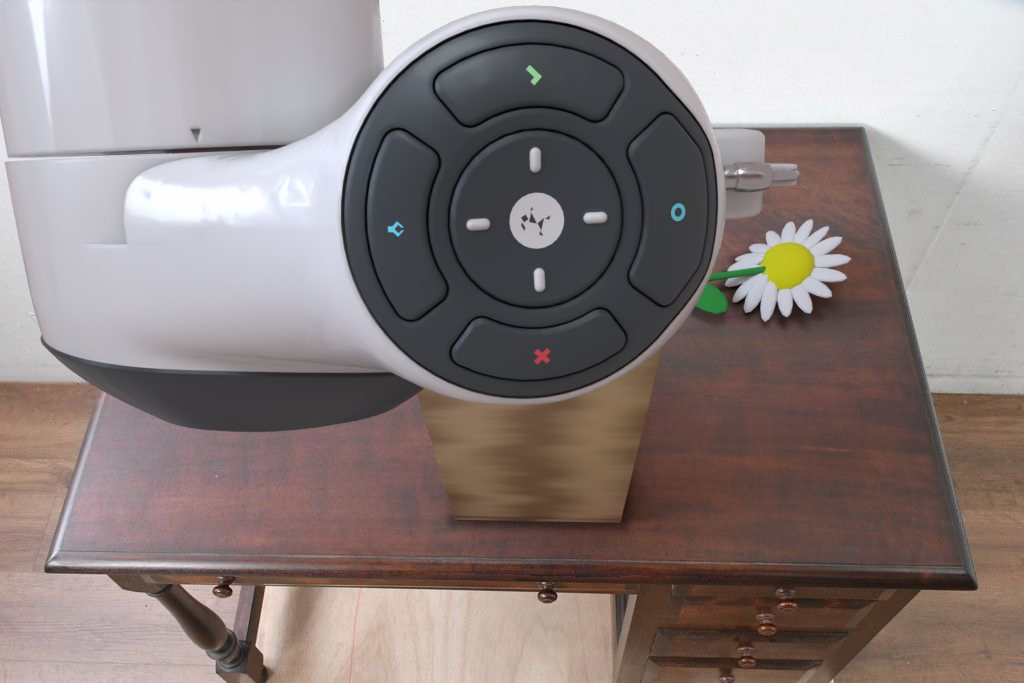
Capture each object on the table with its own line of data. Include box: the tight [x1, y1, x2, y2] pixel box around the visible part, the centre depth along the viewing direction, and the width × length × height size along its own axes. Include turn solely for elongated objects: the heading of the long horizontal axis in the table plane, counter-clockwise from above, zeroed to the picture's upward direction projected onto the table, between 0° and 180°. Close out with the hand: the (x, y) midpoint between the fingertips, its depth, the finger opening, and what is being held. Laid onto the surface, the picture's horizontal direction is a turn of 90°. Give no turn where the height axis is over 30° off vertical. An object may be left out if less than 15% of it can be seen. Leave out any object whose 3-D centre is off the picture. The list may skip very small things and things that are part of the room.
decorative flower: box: [695, 218, 852, 322], centre depth 88 cm, size 13×5×30 cm
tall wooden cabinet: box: [416, 345, 664, 524], centre depth 64 cm, size 16×12×37 cm
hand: (532, 171), depth 43 cm, fingers open, 8 cm apart
